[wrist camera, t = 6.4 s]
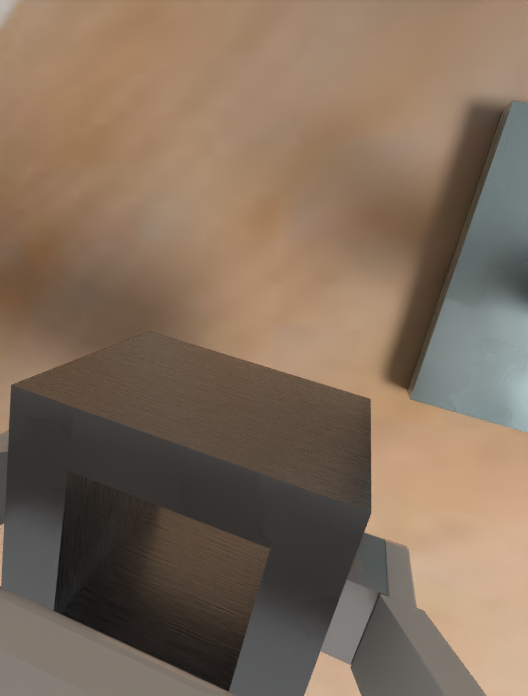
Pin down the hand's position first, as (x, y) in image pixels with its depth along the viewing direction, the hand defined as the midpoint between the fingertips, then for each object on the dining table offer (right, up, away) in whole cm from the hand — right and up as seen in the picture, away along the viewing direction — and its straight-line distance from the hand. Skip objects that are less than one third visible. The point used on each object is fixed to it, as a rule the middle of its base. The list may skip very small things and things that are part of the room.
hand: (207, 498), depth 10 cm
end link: (0, 0, +2) cm, 2 cm away
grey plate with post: (+12, +5, +4) cm, 14 cm away
